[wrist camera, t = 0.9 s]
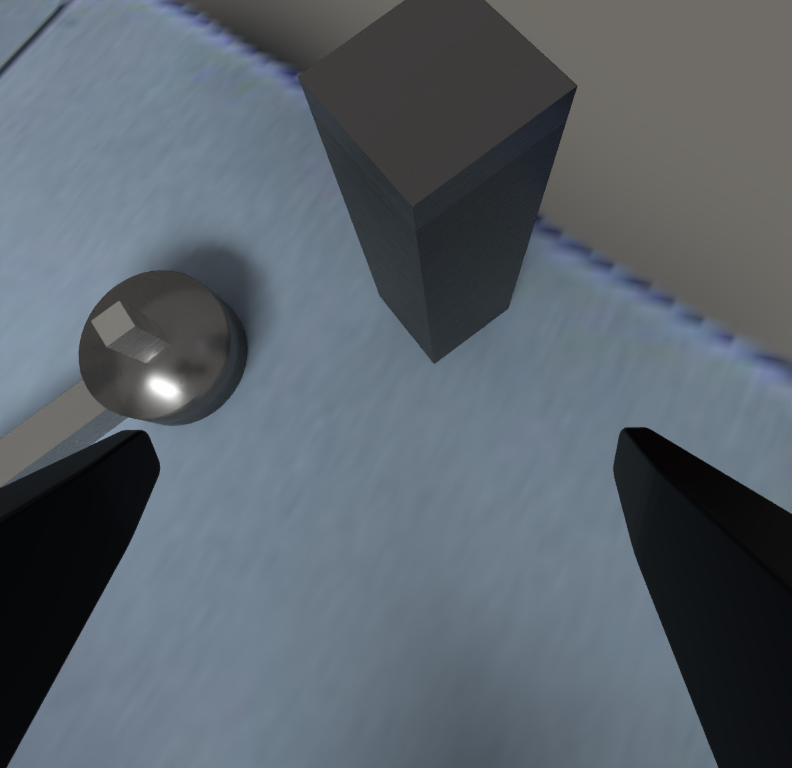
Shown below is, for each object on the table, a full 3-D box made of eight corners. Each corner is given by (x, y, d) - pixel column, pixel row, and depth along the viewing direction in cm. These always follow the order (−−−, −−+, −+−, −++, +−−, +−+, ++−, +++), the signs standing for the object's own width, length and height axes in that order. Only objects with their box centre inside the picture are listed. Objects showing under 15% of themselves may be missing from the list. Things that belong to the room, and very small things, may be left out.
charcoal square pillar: (508, 308, 23) (577, 85, 10) (434, 364, 23) (412, 206, 10) (450, 243, 24) (449, -32, 11) (379, 295, 24) (297, 76, 11)
